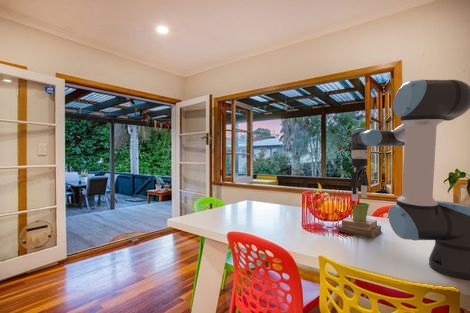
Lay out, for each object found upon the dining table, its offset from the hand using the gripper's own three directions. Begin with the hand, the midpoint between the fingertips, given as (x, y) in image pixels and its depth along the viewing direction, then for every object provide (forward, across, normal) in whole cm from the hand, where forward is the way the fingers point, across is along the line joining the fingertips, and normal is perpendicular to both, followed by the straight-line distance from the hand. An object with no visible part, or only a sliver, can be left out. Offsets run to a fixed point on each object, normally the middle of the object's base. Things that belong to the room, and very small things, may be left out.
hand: (359, 199), depth 132 cm
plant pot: (+11, 0, 0) cm, 11 cm away
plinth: (+17, 0, 0) cm, 17 cm away
